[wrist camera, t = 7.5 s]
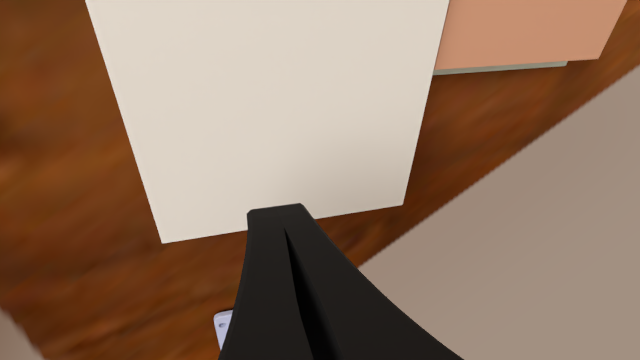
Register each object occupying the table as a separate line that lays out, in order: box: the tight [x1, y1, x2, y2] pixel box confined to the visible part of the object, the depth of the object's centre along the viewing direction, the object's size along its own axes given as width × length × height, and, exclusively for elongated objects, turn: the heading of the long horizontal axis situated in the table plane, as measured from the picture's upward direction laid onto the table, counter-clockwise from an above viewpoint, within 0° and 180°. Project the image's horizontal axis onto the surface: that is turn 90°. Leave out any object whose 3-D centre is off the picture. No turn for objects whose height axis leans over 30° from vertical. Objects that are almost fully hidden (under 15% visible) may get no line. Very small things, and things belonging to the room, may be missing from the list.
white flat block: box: [85, 0, 449, 243], centre depth 15 cm, size 14×12×3 cm
